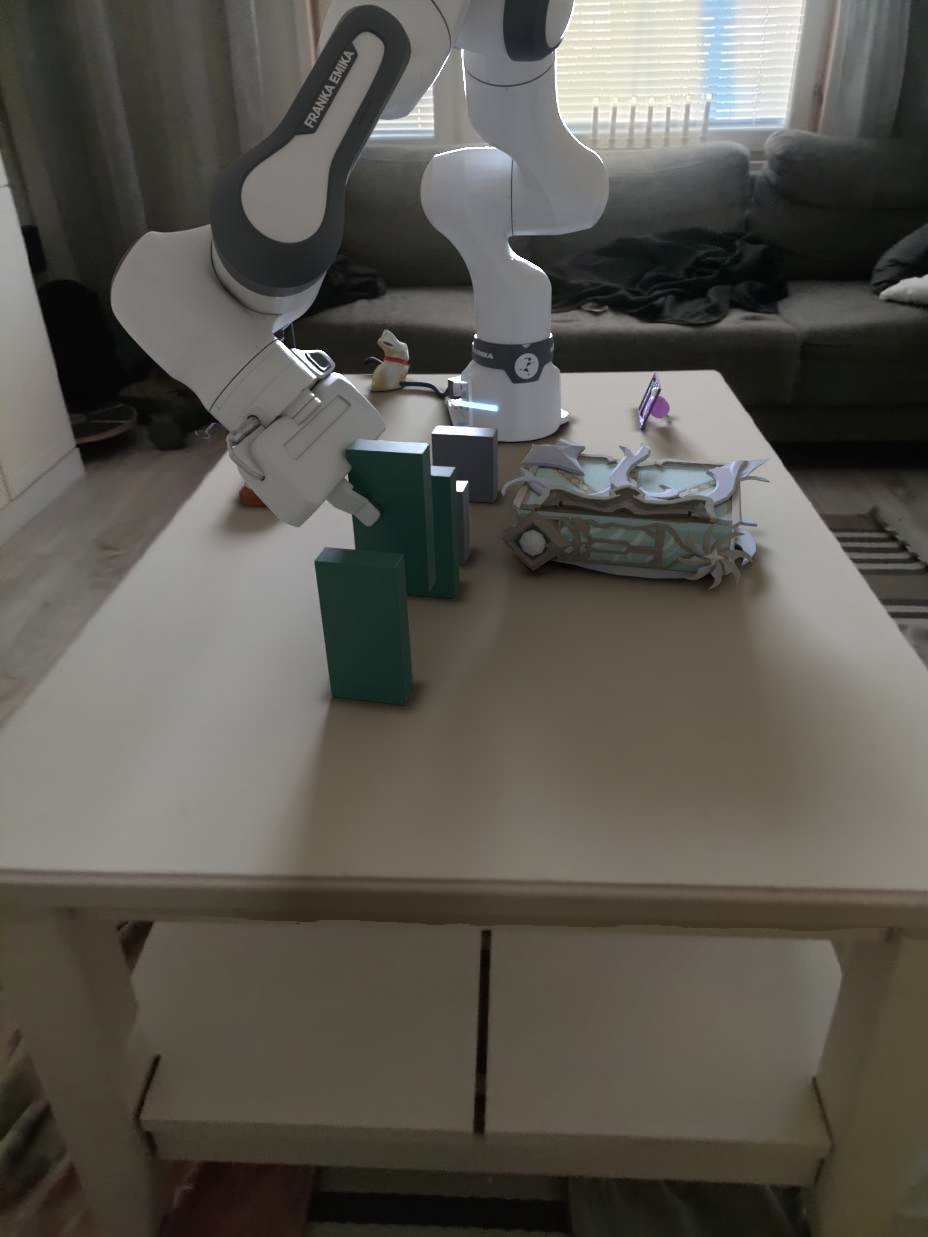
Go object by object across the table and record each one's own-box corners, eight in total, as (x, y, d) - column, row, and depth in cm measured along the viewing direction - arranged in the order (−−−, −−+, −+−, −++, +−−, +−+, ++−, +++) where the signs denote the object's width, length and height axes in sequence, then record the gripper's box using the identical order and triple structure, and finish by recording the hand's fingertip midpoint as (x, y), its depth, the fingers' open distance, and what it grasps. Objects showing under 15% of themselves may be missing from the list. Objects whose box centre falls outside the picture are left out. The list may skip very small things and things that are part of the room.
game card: (650, 369, 141) (654, 386, 133) (681, 380, 141) (686, 398, 134) (633, 407, 144) (636, 427, 137) (663, 418, 145) (667, 438, 137)
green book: (367, 574, 87) (354, 438, 80) (436, 580, 86) (429, 443, 78) (358, 587, 85) (345, 449, 78) (429, 594, 84) (422, 453, 76)
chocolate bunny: (416, 387, 158) (413, 329, 152) (373, 392, 156) (368, 334, 150) (408, 378, 162) (404, 322, 157) (366, 383, 160) (361, 327, 155)
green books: (398, 581, 98) (389, 462, 91) (459, 586, 97) (456, 466, 89) (331, 696, 80) (313, 560, 73) (405, 705, 79) (395, 568, 72)
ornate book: (492, 582, 99) (772, 601, 92) (488, 503, 94) (784, 517, 87) (527, 500, 118) (763, 510, 111) (526, 430, 113) (773, 436, 106)
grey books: (439, 489, 119) (436, 425, 115) (497, 493, 118) (497, 428, 113) (397, 558, 103) (392, 486, 98) (464, 564, 101) (462, 491, 96)
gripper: (238, 416, 68) (370, 540, 71) (330, 345, 85) (433, 448, 88) (196, 467, 71) (323, 583, 75) (292, 389, 88) (393, 487, 91)
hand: (383, 509), depth 82 cm, fingers closed on green book, 2 cm apart
